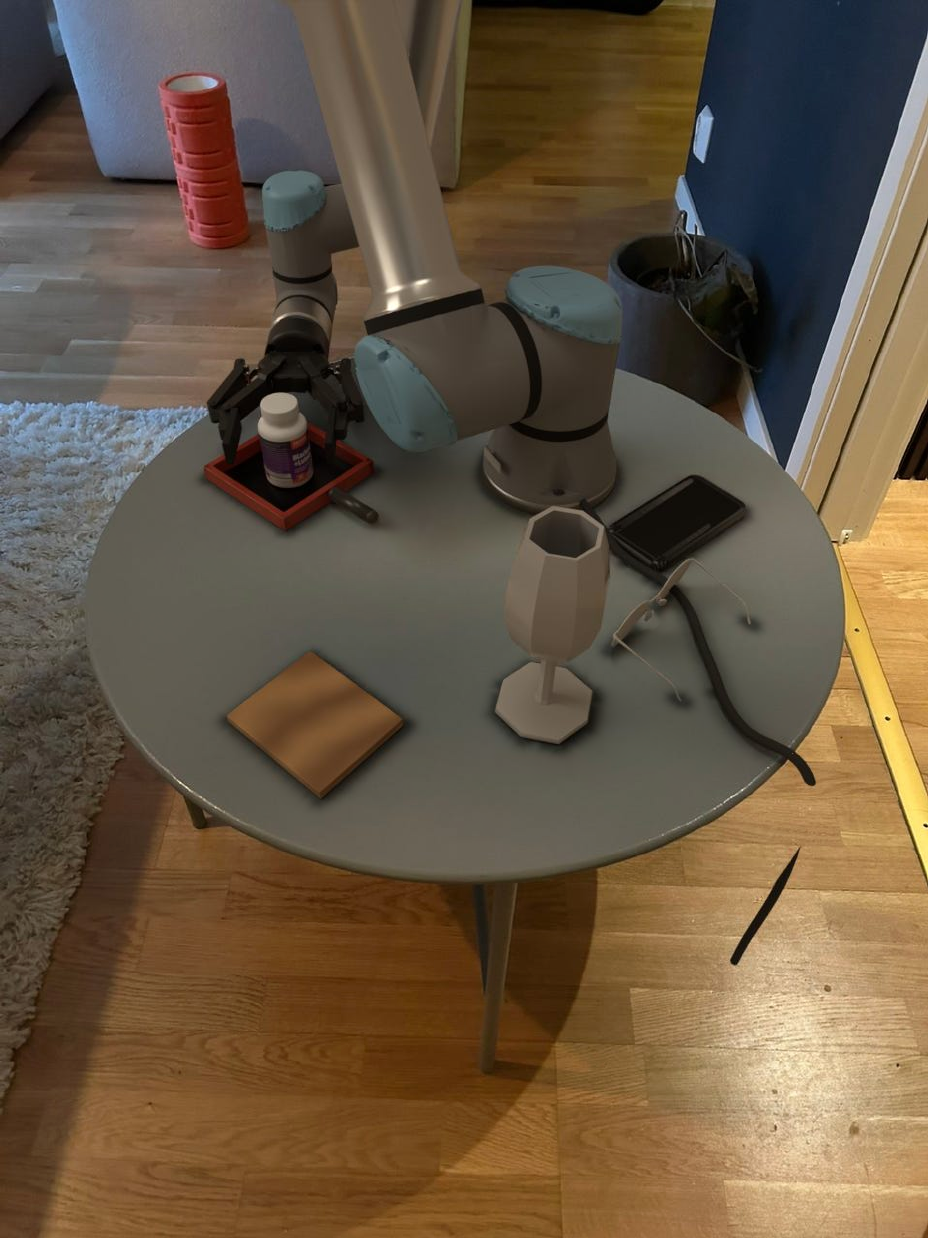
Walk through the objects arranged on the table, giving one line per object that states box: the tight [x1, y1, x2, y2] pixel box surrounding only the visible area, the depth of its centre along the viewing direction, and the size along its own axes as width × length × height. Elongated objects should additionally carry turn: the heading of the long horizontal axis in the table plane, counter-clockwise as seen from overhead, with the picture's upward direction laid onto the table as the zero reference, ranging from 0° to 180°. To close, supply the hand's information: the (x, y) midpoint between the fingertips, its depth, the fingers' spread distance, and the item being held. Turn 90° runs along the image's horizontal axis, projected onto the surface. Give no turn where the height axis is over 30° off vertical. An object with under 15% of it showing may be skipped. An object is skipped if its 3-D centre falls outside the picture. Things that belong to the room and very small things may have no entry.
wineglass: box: [494, 506, 611, 745], centre depth 74 cm, size 9×9×21 cm
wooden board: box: [226, 650, 404, 799], centre depth 80 cm, size 12×10×1 cm
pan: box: [202, 421, 380, 532], centre depth 102 cm, size 21×14×2 cm, turn 49°
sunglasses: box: [611, 557, 752, 702], centre depth 86 cm, size 14×8×5 cm, turn 139°
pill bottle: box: [257, 393, 313, 488], centre depth 100 cm, size 5×5×10 cm
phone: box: [607, 474, 746, 573], centre depth 98 cm, size 8×1×15 cm
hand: (278, 453), depth 97 cm, fingers open, 10 cm apart
